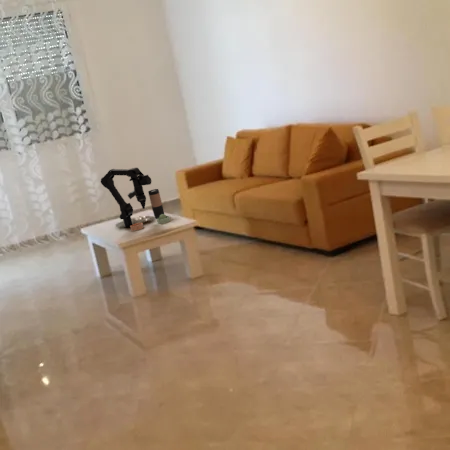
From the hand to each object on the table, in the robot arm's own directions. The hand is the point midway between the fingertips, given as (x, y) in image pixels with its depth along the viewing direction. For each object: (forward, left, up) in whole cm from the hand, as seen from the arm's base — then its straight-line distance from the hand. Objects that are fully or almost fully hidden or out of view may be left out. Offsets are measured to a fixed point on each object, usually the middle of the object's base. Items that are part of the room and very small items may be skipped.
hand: (143, 207), depth 486 cm
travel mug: (-7, +14, -12) cm, 20 cm away
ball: (+11, +8, -9) cm, 16 cm away
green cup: (+11, +8, -12) cm, 18 cm away
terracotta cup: (+3, -10, -12) cm, 16 cm away
